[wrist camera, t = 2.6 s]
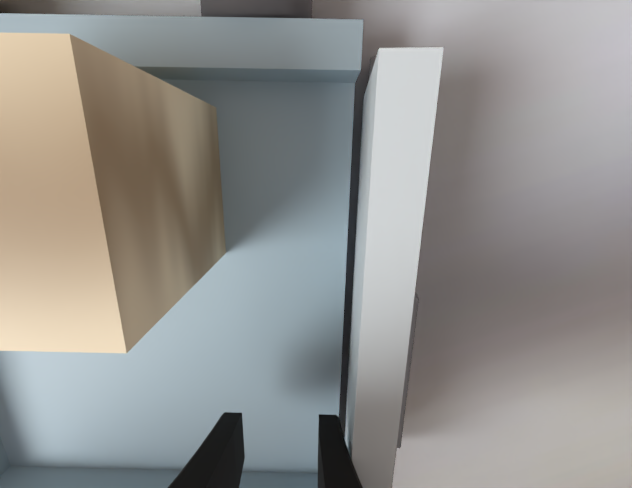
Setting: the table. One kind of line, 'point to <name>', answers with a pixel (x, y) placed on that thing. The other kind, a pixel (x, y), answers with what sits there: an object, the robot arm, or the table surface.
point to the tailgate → (388, 252)
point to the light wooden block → (99, 196)
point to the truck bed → (216, 265)
